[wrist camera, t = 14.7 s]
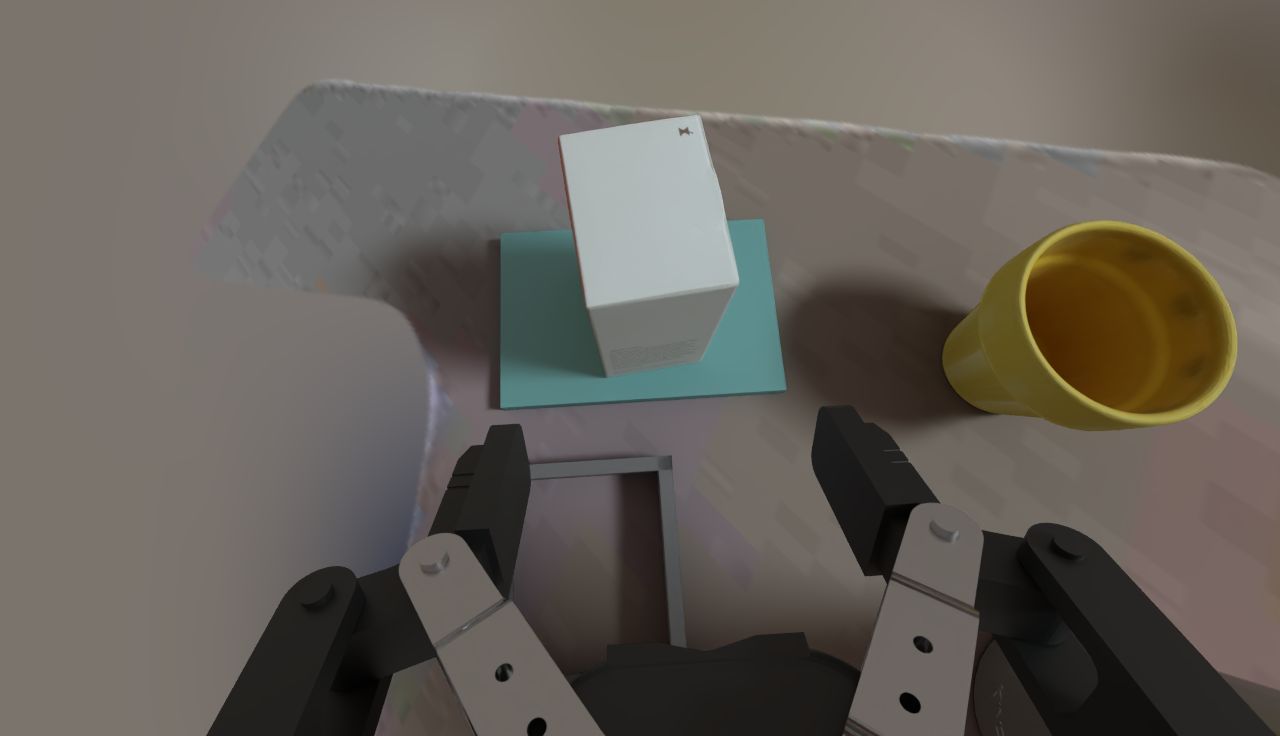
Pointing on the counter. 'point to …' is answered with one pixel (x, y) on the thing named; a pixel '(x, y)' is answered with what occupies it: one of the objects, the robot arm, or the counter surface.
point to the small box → (649, 241)
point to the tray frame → (666, 517)
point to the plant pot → (1096, 332)
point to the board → (566, 346)
